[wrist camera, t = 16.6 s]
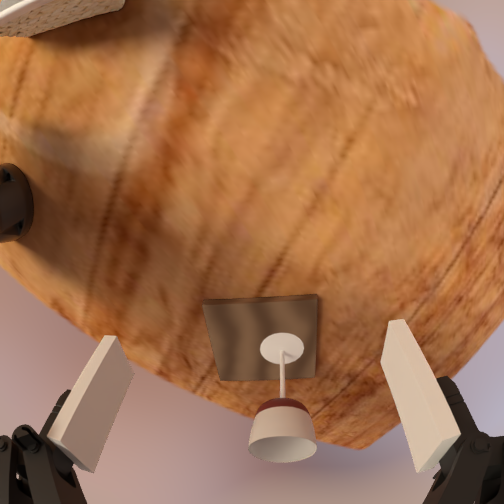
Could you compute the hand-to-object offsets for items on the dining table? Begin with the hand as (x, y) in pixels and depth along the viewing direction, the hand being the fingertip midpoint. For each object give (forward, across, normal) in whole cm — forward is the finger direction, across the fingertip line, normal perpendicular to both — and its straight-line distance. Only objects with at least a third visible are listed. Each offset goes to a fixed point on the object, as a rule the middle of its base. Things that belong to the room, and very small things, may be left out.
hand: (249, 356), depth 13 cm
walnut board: (+30, -2, -25) cm, 39 cm away
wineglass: (+28, +1, -26) cm, 39 cm away
